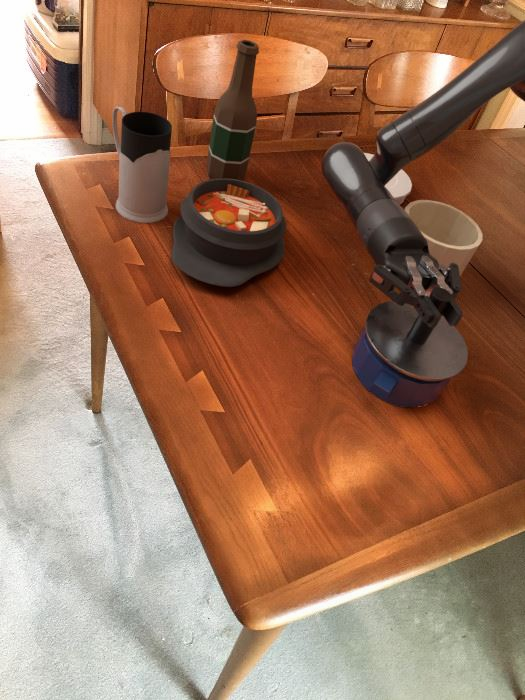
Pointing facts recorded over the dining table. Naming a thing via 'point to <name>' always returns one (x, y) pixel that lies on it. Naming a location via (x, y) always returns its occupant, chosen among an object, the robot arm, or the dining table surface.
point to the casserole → (228, 232)
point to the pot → (446, 232)
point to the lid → (397, 184)
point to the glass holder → (143, 165)
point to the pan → (391, 379)
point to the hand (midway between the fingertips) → (446, 321)
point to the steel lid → (417, 340)
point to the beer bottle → (234, 119)
